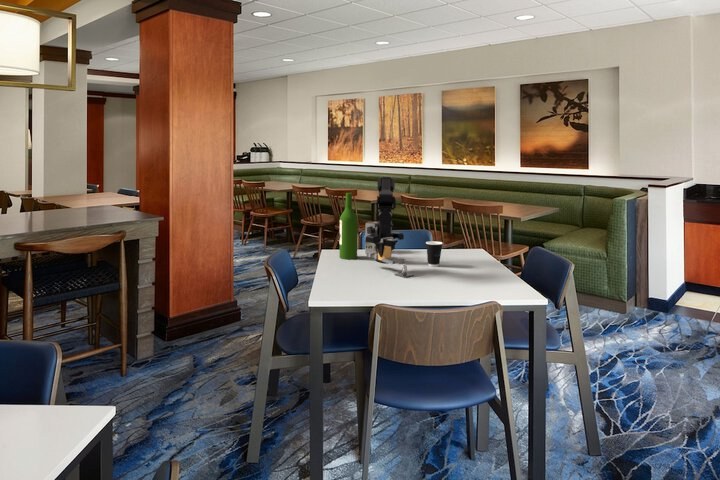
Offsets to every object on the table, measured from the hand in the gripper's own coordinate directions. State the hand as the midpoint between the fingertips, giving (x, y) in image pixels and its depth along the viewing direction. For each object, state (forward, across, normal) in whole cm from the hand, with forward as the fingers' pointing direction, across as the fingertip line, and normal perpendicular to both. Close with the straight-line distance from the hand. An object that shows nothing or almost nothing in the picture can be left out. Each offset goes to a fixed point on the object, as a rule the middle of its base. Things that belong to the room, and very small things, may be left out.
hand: (384, 256), depth 232 cm
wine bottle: (+7, -6, -33) cm, 34 cm away
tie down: (+2, 0, 0) cm, 2 cm away
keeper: (+6, 0, +12) cm, 14 cm away
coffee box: (+7, -26, -36) cm, 45 cm away
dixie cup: (+7, -26, +6) cm, 28 cm away
